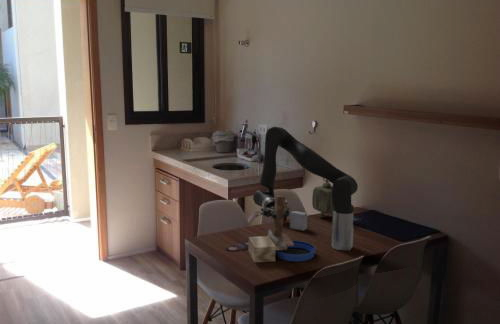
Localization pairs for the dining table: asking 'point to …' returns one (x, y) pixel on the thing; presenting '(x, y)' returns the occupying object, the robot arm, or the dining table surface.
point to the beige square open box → (263, 249)
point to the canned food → (285, 208)
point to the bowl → (297, 252)
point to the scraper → (278, 222)
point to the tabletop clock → (323, 198)
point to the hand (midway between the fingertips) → (280, 216)
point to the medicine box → (298, 220)
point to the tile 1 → (289, 243)
